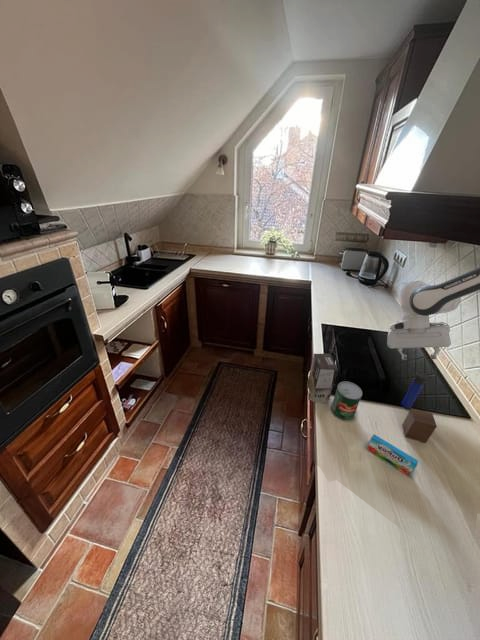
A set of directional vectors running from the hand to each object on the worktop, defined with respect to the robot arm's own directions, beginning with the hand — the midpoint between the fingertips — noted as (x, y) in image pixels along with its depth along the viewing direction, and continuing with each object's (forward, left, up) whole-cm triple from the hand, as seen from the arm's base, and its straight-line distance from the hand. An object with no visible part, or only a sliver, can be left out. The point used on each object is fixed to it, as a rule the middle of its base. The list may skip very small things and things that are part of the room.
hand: (418, 359), depth 98 cm
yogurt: (+34, +25, -12) cm, 43 cm away
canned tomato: (+36, +6, -12) cm, 38 cm away
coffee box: (+40, -4, -12) cm, 42 cm away
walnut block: (+18, +20, -12) cm, 29 cm away
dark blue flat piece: (+13, +13, -9) cm, 21 cm away
